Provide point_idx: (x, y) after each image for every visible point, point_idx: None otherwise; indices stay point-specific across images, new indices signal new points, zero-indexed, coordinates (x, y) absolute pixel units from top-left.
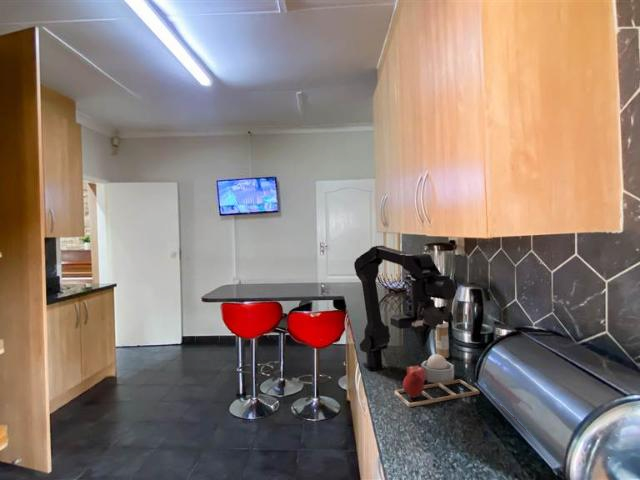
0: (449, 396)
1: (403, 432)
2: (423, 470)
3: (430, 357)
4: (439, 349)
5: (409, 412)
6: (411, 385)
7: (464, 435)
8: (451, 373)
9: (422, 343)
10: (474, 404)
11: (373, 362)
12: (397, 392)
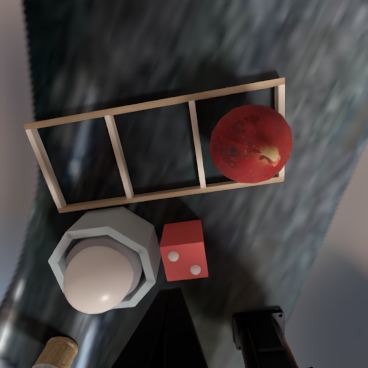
0: (131, 106)
1: None
2: None
3: (115, 298)
4: (60, 366)
5: (296, 41)
6: (276, 112)
7: None
8: (74, 224)
9: (186, 311)
10: (68, 54)
11: (279, 333)
12: None
